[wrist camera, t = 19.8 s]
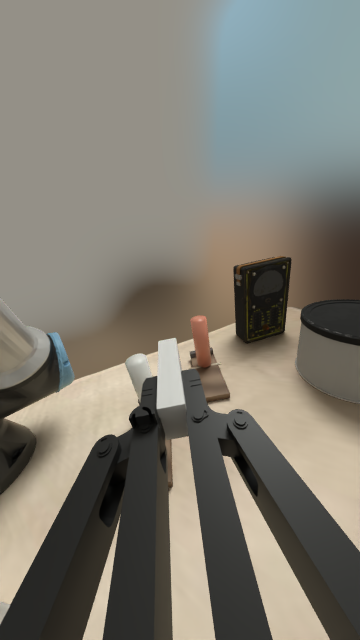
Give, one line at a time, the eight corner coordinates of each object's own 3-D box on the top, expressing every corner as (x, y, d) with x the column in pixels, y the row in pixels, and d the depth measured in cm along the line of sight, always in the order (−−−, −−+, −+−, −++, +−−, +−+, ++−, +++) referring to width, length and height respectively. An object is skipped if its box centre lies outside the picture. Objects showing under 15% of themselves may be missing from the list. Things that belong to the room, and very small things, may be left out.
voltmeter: (246, 346, 57) (245, 268, 47) (232, 334, 65) (229, 264, 54) (287, 333, 59) (296, 256, 49) (270, 323, 67) (274, 254, 57)
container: (277, 360, 49) (281, 311, 43) (332, 341, 52) (344, 293, 46) (354, 419, 32) (379, 353, 26) (428, 387, 35) (467, 321, 29)
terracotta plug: (213, 365, 49) (207, 320, 43) (198, 368, 49) (191, 324, 43) (209, 357, 52) (204, 314, 46) (196, 359, 52) (189, 317, 46)
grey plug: (161, 416, 37) (145, 365, 31) (143, 420, 37) (123, 369, 31) (162, 400, 41) (147, 352, 35) (145, 404, 41) (127, 355, 35)
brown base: (234, 397, 41) (233, 387, 40) (196, 404, 41) (194, 395, 40) (215, 354, 56) (215, 346, 55) (187, 359, 56) (186, 352, 55)
